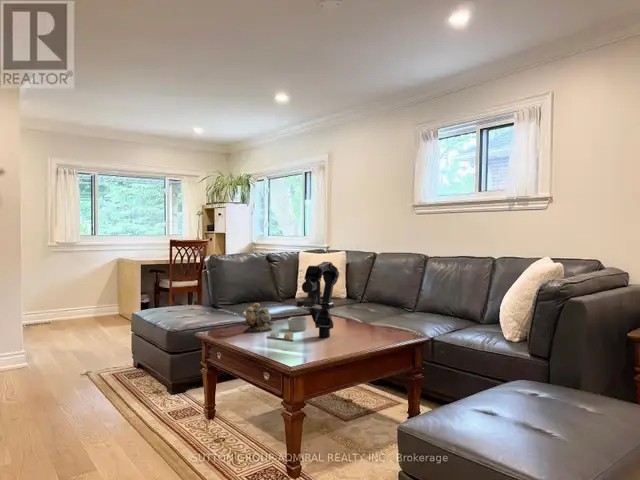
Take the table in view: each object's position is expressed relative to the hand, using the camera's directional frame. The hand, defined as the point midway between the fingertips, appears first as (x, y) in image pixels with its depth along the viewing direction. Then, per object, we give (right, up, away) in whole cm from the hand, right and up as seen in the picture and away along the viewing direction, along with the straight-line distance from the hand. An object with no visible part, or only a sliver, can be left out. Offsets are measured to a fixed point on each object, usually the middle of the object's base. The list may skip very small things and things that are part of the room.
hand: (314, 321), depth 224 cm
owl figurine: (-33, -12, +29) cm, 46 cm away
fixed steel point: (-22, -11, +14) cm, 28 cm away
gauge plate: (-16, -12, +11) cm, 23 cm away
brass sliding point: (-14, -11, +9) cm, 20 cm away
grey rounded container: (-11, -12, +32) cm, 36 cm away
